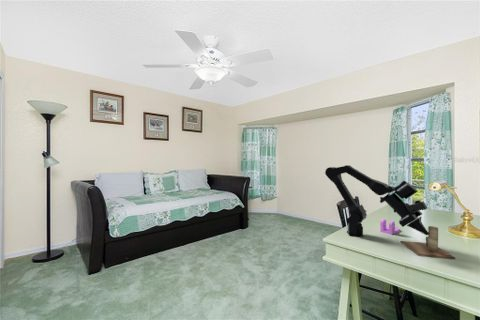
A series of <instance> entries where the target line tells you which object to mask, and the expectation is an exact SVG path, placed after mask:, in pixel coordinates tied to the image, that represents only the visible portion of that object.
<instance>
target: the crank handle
mask: <svg viewBox="0 0 480 320" xmlns="http://www.w3.org/2000/svg"><path fill="white" fill-rule="evenodd" d="M427 228H428V229H427V231H428V233H429V235H427V236H425V243H426V245H427V246H428V250H430V251H433V252H438V247H439V227H437V226H433V225H432V226H431V225H428V227H427Z"/></svg>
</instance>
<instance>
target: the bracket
mask: <svg viewBox="0 0 480 320" xmlns="http://www.w3.org/2000/svg"><path fill="white" fill-rule="evenodd" d="M400 232H401V228H400V227H397V226H396V223H395V221H393V220H390V221H389V222H388V226H387V220H386V219H384V218H381V219H380V233H383V234H384V233H385V234H387V235H390V236H393V235H394V234H397V233H400Z"/></svg>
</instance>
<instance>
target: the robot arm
mask: <svg viewBox="0 0 480 320" xmlns="http://www.w3.org/2000/svg"><path fill="white" fill-rule="evenodd" d="M324 174H325V175H326V177H327V178H328V179H329V180H330V181H331V183H333V184H334V185H335V187H336V189H337V190H338V192H339V194H340V195H341V197H342V198H343V200H344V201H345V204H346V205H347V208H348V212H349V217H348V218H346V223H347V230H346V233H347V235H348V236H351V237H360V238H362V237H364V236H363V234H364V226H363V224H362V223H363V221H364V220H366V219H367V216H368V215H367V210H366V209H365V208H364V205H363V204H358V203H357V202H356V200H355V198H354V196H353V195H352V194H351V192H350V190H349V189H348V187H347V185H346V184H345V182H344V181H343V177H342V174H343V175H344V174H348V175H349V176H351V177H353V178H354V179H356V180H357V181H359V182H361V183H362V184H364V185H366V186H367V187H368V189H370V191H372V192H373V193H374V194H375V195H377V196H381V197H379V199H380V200H379V203H381V204H382V203H386V204H387V205H388V206H389V207H390V208H391V209H392V210H393V212H394V213H396V214H397V215H398V216H399V217H400V219H399V220H398V223H399V224H400V226H401V227H405V226H407V227H408V228H410V229H414V230H415V231H417V232H419V233H421V234H423V235H425V236H428V235H429V233H428V229H427V228H426V227H425V225H424V224H423V222H422V215H423V212H421V211H425V210H427V209H428V207H427V205H426V203H425V201H421V200H415V201H414V203H413V204H409V203H407V202H404V200H403V199H405V200H408V199H409V198H410V197H412V196H414V194H417V193H418V189H417V188H416V187H414V186H413V185H412V184H410V183H409V182H407V181H406V180H403V181H401V182H400V183H399V184H398V185H397V186H391V185H388V184H387V183H386V182H382V181H379V180H378V179H374V178H371V177H369V176H367V174H364V173H363V172H361V171H359V170H358V169H356V168H354V167H352V166H351V165H343V166H338V167H335V166H331V167H330V166H329V167H327V168H326V169H325V172H324ZM390 193H392V194H390ZM384 195H385V196H384Z"/></svg>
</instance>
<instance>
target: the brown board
mask: <svg viewBox="0 0 480 320" xmlns="http://www.w3.org/2000/svg"><path fill="white" fill-rule="evenodd" d="M400 243H401V244H402V245H404V247H406V248H407V249H409V250H410V251H412V253H414V254H416V256H420V257H427V258H429V257H430V258H438V259H447V260H449V259H450V260H456V257H455V256H454V255H452V254H451V253H450V252H448V251H446V250H444V249H442V248H440V247H439V246H438V252H433V251H430V250H428V246H427V245H426V242H417V241H408V240H400Z"/></svg>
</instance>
